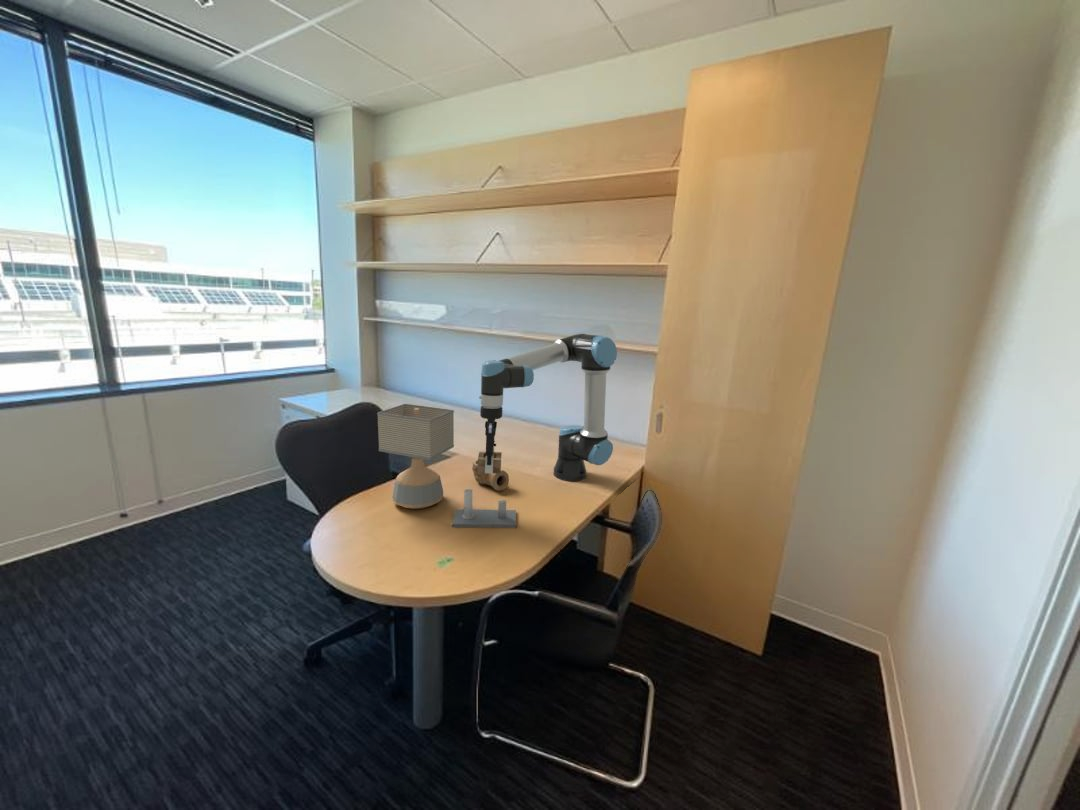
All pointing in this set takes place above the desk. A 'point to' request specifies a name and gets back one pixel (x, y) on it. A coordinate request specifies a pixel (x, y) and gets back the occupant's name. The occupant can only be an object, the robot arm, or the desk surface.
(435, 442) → the desk lamp
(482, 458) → the collar
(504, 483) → the pipe
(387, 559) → the desk surface
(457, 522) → the post board
